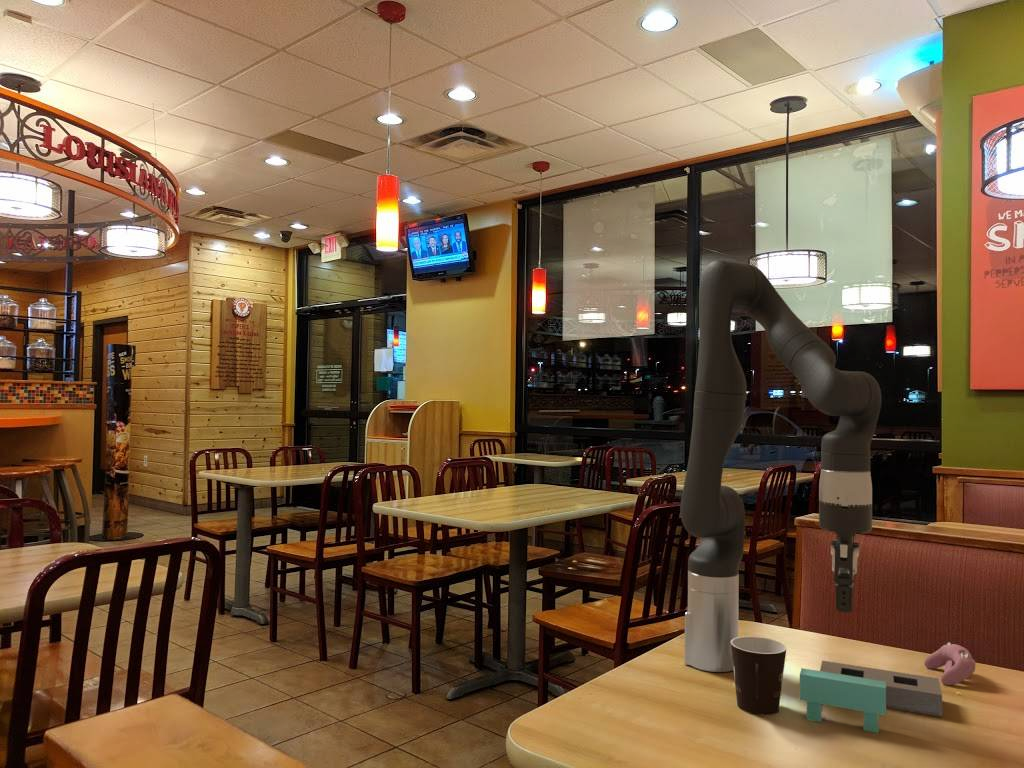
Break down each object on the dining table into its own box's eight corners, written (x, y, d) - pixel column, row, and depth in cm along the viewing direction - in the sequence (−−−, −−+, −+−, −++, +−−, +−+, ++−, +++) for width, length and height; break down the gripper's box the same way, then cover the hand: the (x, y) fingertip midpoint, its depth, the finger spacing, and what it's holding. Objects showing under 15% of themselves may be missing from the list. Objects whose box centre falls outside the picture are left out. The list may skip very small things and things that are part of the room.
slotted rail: (818, 696, 126) (818, 675, 126) (822, 680, 133) (822, 660, 133) (942, 717, 118) (942, 695, 118) (938, 699, 125) (938, 678, 125)
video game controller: (965, 697, 130) (985, 662, 130) (939, 683, 131) (959, 648, 130) (944, 676, 140) (962, 644, 139) (920, 663, 141) (939, 631, 140)
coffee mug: (746, 692, 127) (746, 633, 127) (795, 707, 121) (795, 645, 121) (710, 711, 119) (710, 648, 119) (761, 729, 112) (761, 662, 113)
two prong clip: (799, 719, 116) (799, 674, 116) (801, 712, 119) (801, 668, 119) (885, 735, 111) (886, 688, 111) (885, 727, 113) (885, 681, 114)
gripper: (821, 493, 124) (821, 591, 123) (816, 503, 111) (815, 612, 111) (871, 496, 121) (871, 597, 120) (872, 506, 108) (871, 620, 107)
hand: (844, 604), depth 115 cm, fingers open, 8 cm apart
